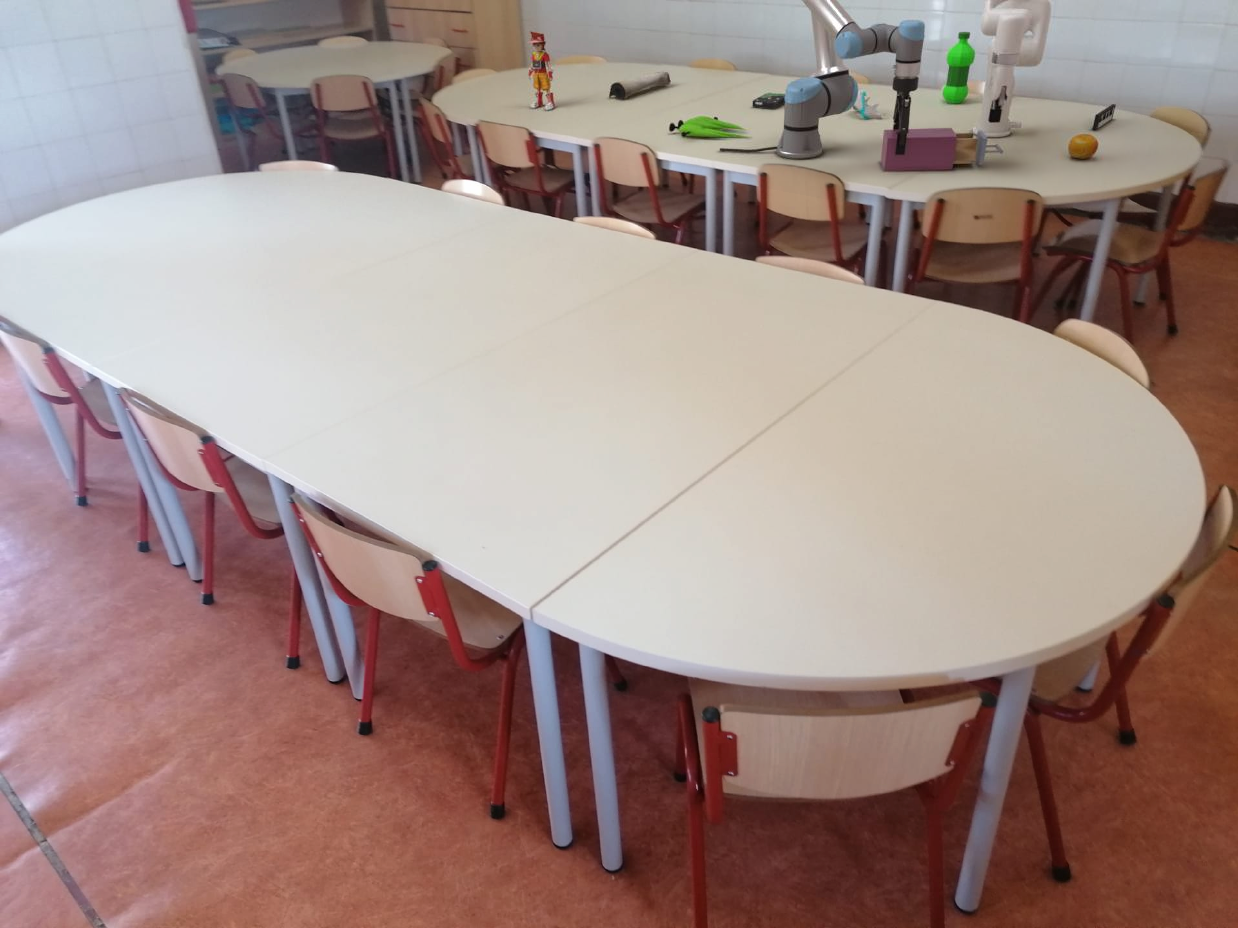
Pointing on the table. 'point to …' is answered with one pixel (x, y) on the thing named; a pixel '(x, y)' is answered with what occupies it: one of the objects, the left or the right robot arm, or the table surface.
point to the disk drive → (769, 100)
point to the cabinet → (920, 150)
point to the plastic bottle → (958, 69)
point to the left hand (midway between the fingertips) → (897, 149)
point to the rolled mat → (638, 84)
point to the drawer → (972, 148)
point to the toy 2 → (705, 127)
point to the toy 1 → (541, 71)
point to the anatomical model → (865, 106)
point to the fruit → (1082, 146)
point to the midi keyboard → (1103, 116)
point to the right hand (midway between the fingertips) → (993, 122)
